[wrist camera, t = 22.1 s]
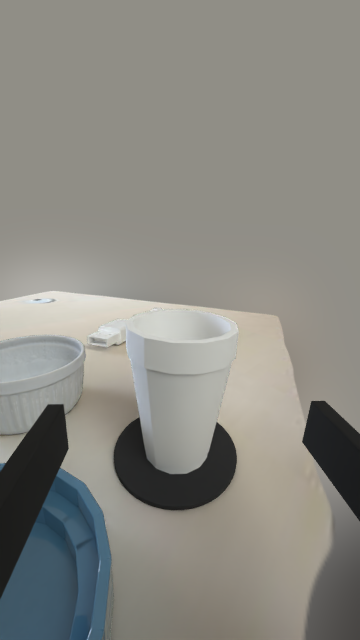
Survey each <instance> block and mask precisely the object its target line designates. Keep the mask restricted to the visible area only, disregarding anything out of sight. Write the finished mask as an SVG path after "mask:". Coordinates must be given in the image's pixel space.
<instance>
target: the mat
mask: <svg viewBox="0 0 360 640" xmlns="http://www.w3.org/2000/svg"><path fill="white" fill-rule="evenodd" d="M236 463H237V455H236V449H235V446H234V443H233V441H232V439H231V437H230V436H229V434H228V433H227V432H226V430H225V429H224V428H223V427H222V426H221V425H220V424H218V423H217V422H216V426H215V430H214V434H213V437H212V441H211V445H210V449H209V452H208V454H207V458H206V459H205V461H204V462H203V464H202V465H201V466H200V467H199V468H197V469H195V470H193V471H191V472H189V473H187V474H169V473H166V472H164V471H161V470H159V469H156V468H155V467H154V466H153V465H152V463H151V462H150V461H149V460H148V459H147V456H146V451H145V446H144V441H143V435H142V429H141V423H140V417H139V418H137V419H135V420H134V421H133V422H131V423H130V424H129V425H128V426H127V427H126V428H125V429H124V431H123V432H122V433H121V435H120V436H119V438H118V441H117V443H116V446H115V450H114V464H115V469H116V473H117V475H118V478H119V480H120V481H121V483H122V484H123V486H124V487H125V488H126V489H127V490H128V491H129V492H130V493H131V494H132V495H133V496H135V497H136V498H137V499H139V500H141V501H142V502H144V503H146V504H149V505H151V506H154V507H158V508H162V509H169V510H185V509H191V508H195V507H199V506H202V505H204V504H206V503H208V502H211V501H212V500H214V499H215V498H217V497H218V496H219V495H220V494H221V493H222V492H224V491H225V489H226V488H227V487H228V485H229V484H230V482H231V480H232V479H233V476H234V473H235V469H236Z"/></svg>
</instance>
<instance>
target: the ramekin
mask: <svg viewBox="0 0 360 640" xmlns="http://www.w3.org/2000/svg"><path fill="white" fill-rule="evenodd" d="M85 358H86V354H85V347H84V345H83V343H82V342H80V341H79V340H77V339H75V338H72V337H68V336H61V335H34V336H25V337H18V338H12V339H8V340H3V341H0V435H11V434H20V433H25V432H29V430H30V429H31V427H32V426H33V425H34V423H35V422H36V420H37V419H38V417H39V416H40V415H41V413H42V412H43V410H44V409H45V408H46V406H47V405H48V404H64V412H65V414H67V413H68V412H69V411H70V410H71V409H72V408H73V407H74V405H75V404H76V403H77V401H78V400H79V398H80V396H81V394H82V388H83V377H84V361H85Z"/></svg>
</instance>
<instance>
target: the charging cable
mask: <svg viewBox="0 0 360 640" xmlns="http://www.w3.org/2000/svg"><path fill="white" fill-rule="evenodd" d="M152 310H163V309H162V308H156V307H155V308H153V309H152ZM152 310H151V311H152ZM126 321H127V320H124V319H116V320H113V321H111V322H108V323H106V324H104V325H101V326H100V327H99V331H97V332H95V333H93V334H90V335H88V336H87V344H90V345H95V346H101V347H109V346H111V345H112V344H118V345H120V344H121V343H123V342H124V341H126Z"/></svg>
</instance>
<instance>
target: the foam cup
mask: <svg viewBox="0 0 360 640" xmlns="http://www.w3.org/2000/svg"><path fill="white" fill-rule="evenodd" d="M238 333H239V331H238V326H237V323H235V322H233V321H232V320H230V319H228V318H227V317H224V316H221V315H217V314H214V313H210V312H204V311H197V310H189V309H163V310H152V311H147V312H143V313H139V314H136V315H133V316H132V317H131V318H129V319H128V320H127V321H126V349H127V353H128V357H129V359H130V360H131V366H132V373H133V379H134V385H135V391H136V398H137V404H138V410H139V416H140V423H141V429H142V435H143V441H144V446H145V451H146V456H147V459H148V460H149V461H150V462H151V463H152V465H153V466H154V467H155V468H156V469H159V470H161V471H164V472H166V473H169V474H187V473H189V472H191V471H193V470H195V469H197V468H199V467H200V466H201V465H202V464H203V462H204V461H205V459H206V458H207V454H208V452H209V449H210V445H211V441H212V437H213V434H214V430H215V426H216V422H217V418H218V414H219V410H220V407H221V403H222V399H223V395H224V391H225V387H226V383H227V380H228V376H229V372H230V368H231V364H232V361H233V360H234V359H236V350H237V341H238Z"/></svg>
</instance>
